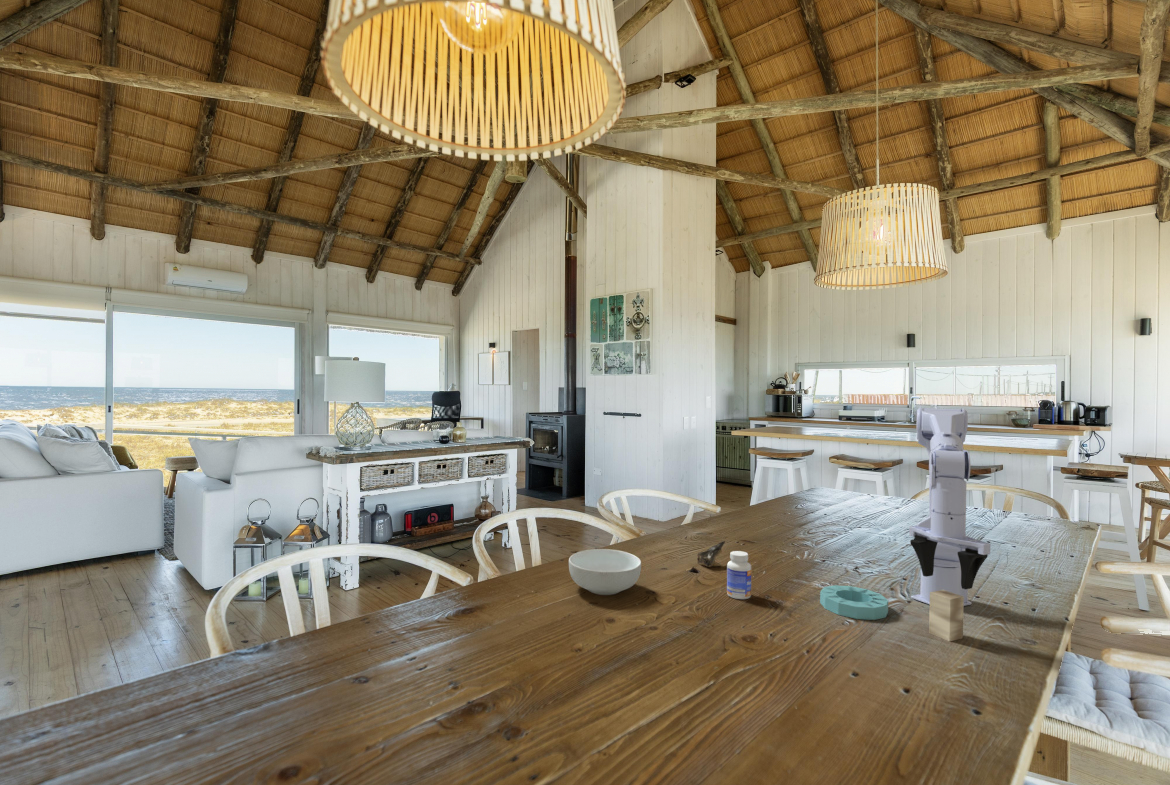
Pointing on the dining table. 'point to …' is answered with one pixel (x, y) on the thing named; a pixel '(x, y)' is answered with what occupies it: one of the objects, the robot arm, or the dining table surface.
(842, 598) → the bead ring
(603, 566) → the cereal bowl
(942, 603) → the ash peg
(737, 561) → the pill bottle
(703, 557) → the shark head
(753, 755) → the dining table surface
